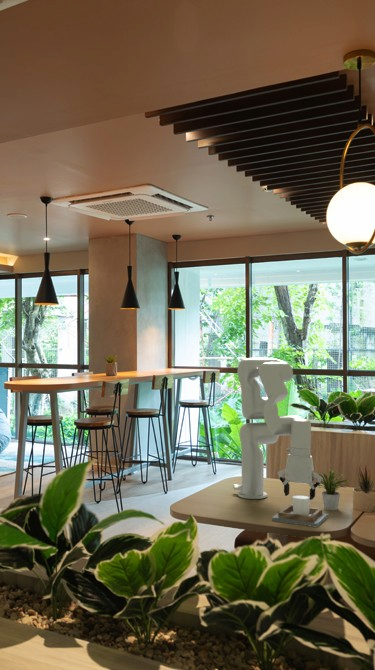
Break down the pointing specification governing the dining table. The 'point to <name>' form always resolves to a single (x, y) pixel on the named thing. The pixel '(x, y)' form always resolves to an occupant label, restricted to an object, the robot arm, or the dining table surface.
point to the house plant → (331, 490)
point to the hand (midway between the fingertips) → (299, 496)
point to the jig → (301, 516)
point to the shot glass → (301, 504)
